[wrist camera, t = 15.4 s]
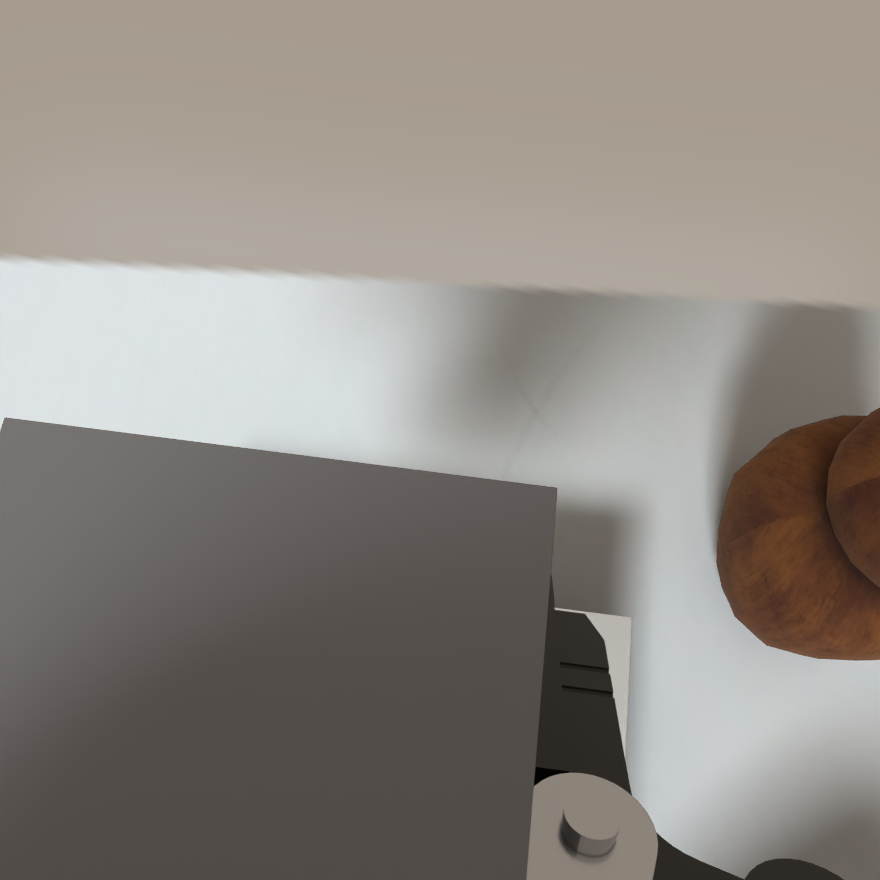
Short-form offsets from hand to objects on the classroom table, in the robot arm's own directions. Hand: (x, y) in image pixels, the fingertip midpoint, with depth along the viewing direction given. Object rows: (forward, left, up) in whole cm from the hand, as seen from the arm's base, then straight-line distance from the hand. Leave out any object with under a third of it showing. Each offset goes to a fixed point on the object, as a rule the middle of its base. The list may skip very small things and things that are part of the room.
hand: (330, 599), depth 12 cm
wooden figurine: (-13, -5, -16) cm, 22 cm away
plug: (0, +2, -5) cm, 5 cm away
